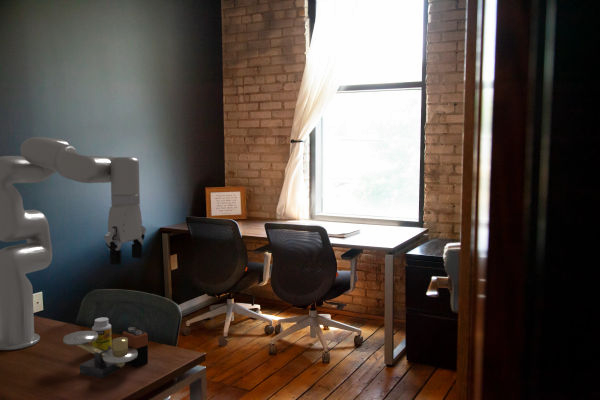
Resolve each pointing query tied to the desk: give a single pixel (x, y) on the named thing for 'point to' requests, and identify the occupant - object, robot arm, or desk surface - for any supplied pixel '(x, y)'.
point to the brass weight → (120, 346)
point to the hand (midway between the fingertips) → (126, 260)
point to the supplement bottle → (102, 334)
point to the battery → (137, 345)
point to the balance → (98, 355)
